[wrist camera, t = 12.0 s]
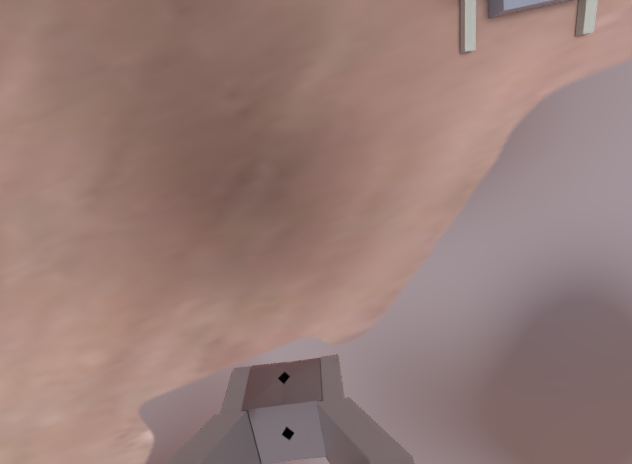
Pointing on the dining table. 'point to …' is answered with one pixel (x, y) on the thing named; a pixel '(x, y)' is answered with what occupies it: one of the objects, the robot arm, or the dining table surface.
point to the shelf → (468, 22)
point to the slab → (516, 6)
